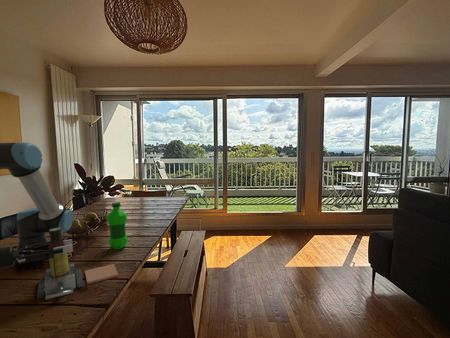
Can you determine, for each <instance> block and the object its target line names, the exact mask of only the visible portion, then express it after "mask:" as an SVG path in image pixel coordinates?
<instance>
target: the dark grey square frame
mask: <svg viewBox="0 0 450 338" xmlns="http://www.w3.org/2000/svg"><path fill="white" fill-rule="evenodd" d="M68 264H69V263H68ZM82 273H83V272H82V268H77V269H75V263H74V262H73V263H70V264H69V275H66V276H62V277H57V278H53V279H52V275H51V269H50V268H46V270H45V276H43V277H39V281H38V286H37V292H36V297H37V299H38V300H39V299H41V298H45V300H51V299H54V298H55V299H56V298H58V297H62V296H65V295H69V294H73V293H74V290H76V289H79V288H80V289H81V288H83V287H84V280H83V274H82Z"/></svg>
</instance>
